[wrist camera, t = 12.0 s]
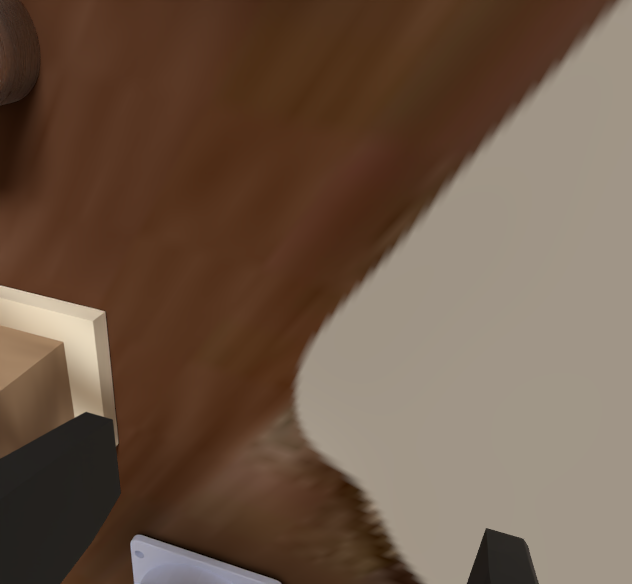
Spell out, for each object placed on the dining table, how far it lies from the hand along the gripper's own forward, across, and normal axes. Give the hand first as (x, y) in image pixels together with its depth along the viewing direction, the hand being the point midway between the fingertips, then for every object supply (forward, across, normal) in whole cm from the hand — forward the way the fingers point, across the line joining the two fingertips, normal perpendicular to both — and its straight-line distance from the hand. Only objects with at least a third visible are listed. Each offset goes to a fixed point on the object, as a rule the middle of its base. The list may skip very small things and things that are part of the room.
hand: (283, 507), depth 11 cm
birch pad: (+9, +14, +7) cm, 18 cm away
